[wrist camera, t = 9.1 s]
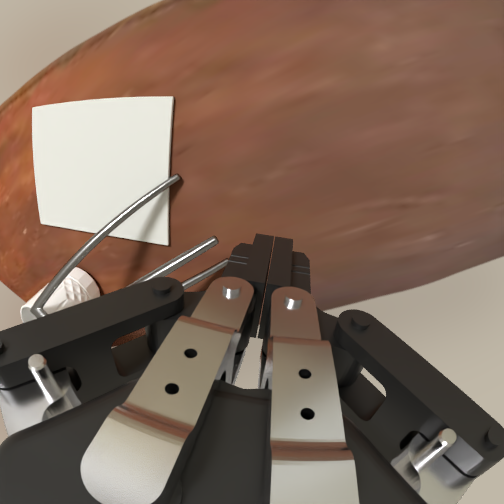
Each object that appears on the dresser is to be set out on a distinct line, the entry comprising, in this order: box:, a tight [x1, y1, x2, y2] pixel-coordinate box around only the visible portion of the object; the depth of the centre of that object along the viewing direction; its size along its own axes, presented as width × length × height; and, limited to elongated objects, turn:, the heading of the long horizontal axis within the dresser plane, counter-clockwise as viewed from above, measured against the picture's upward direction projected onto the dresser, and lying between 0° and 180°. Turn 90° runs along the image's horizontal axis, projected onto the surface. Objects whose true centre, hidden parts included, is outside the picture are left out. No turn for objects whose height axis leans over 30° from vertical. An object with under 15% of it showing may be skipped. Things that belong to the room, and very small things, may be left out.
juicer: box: [30, 174, 229, 318], centre depth 26 cm, size 10×11×30 cm
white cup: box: [20, 267, 100, 323], centre depth 34 cm, size 8×8×10 cm
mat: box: [32, 97, 174, 245], centre depth 30 cm, size 20×16×1 cm
